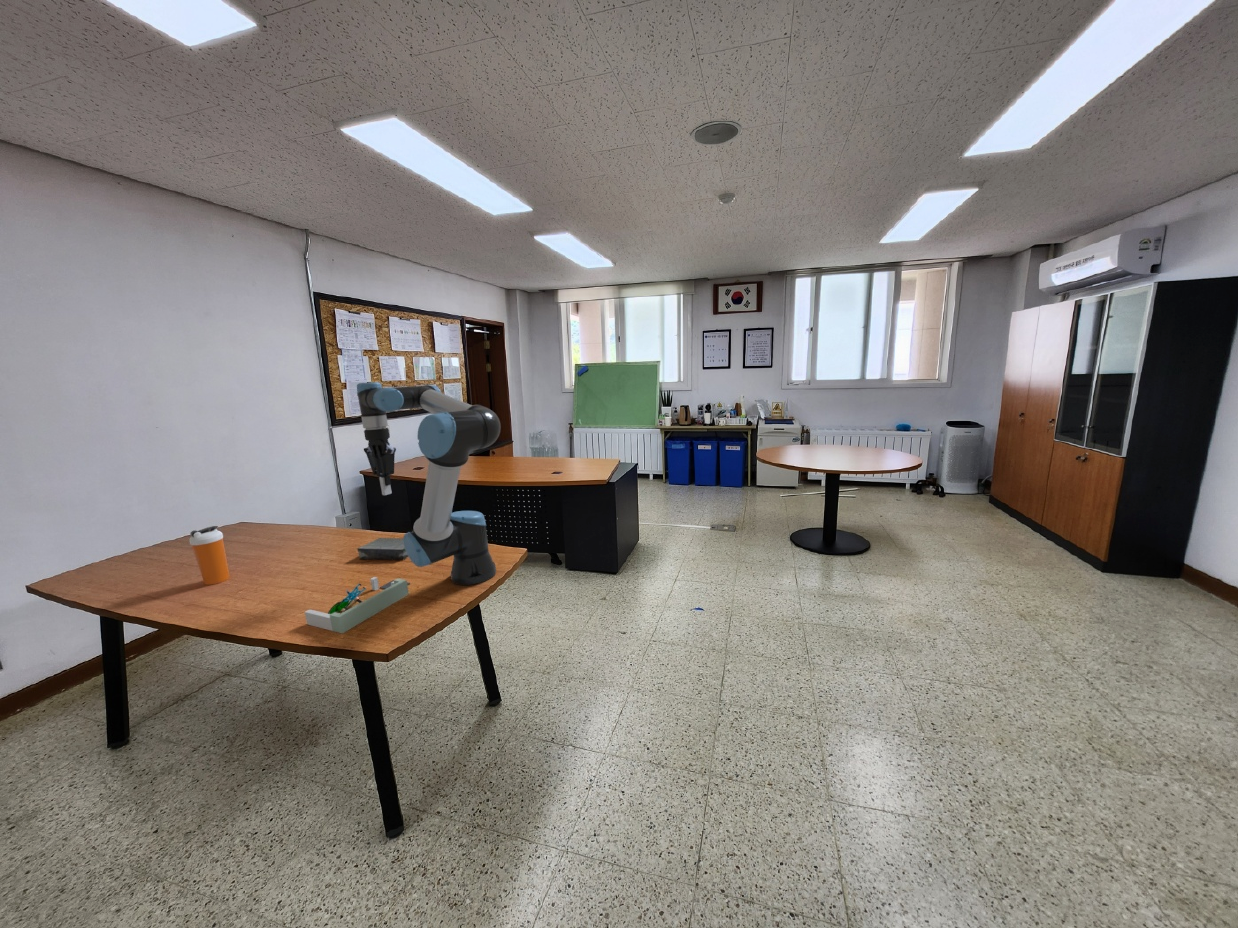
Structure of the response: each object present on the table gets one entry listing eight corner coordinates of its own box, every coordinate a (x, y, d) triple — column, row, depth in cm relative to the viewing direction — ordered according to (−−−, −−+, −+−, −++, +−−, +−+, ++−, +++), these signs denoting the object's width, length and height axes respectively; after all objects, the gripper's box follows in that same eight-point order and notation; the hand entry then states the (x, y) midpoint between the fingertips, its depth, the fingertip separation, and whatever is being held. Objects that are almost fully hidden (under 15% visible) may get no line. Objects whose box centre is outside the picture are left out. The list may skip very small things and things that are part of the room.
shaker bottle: (238, 577, 164) (225, 526, 159) (208, 587, 156) (194, 534, 152) (225, 573, 167) (213, 523, 163) (195, 584, 159) (181, 532, 155)
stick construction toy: (359, 590, 143) (360, 577, 138) (376, 602, 143) (377, 590, 138) (325, 617, 134) (324, 605, 129) (342, 631, 133) (342, 619, 128)
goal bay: (408, 594, 143) (406, 580, 142) (342, 633, 123) (339, 617, 122) (399, 592, 145) (397, 578, 144) (332, 630, 124) (329, 614, 123)
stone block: (404, 561, 171) (402, 548, 170) (358, 560, 174) (356, 548, 173) (423, 547, 184) (422, 536, 183) (381, 547, 187) (379, 536, 186)
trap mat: (410, 583, 151) (410, 583, 151) (397, 591, 146) (397, 590, 146) (393, 580, 154) (393, 579, 154) (379, 588, 149) (379, 587, 149)
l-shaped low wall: (399, 592, 145) (397, 581, 144) (332, 630, 124) (330, 618, 123) (376, 587, 149) (374, 576, 148) (307, 624, 128) (304, 611, 128)
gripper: (399, 426, 152) (409, 492, 156) (372, 426, 156) (382, 490, 161) (380, 429, 145) (391, 498, 150) (352, 429, 150) (364, 496, 155)
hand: (387, 494), depth 156 cm, fingers closed
